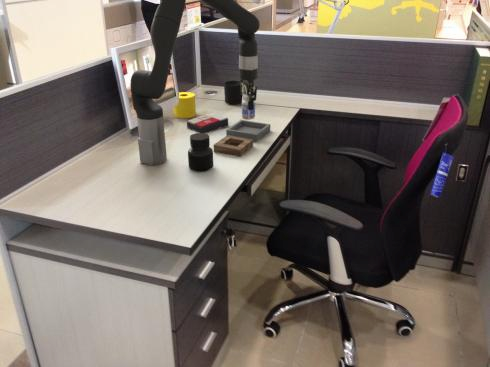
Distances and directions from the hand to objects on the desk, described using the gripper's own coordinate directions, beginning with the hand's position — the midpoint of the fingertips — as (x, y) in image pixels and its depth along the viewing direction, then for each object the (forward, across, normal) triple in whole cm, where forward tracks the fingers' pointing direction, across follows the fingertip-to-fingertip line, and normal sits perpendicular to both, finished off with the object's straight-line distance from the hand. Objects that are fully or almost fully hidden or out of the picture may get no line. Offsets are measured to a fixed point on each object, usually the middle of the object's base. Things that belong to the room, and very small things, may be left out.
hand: (248, 107), depth 196 cm
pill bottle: (+5, 0, 0) cm, 5 cm away
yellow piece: (+12, -34, -20) cm, 41 cm away
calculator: (+12, -14, -14) cm, 23 cm away
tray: (+11, 0, 0) cm, 11 cm away
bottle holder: (+11, +14, -11) cm, 22 cm away
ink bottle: (+12, +26, -28) cm, 40 cm away
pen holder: (+12, -44, +8) cm, 47 cm away
